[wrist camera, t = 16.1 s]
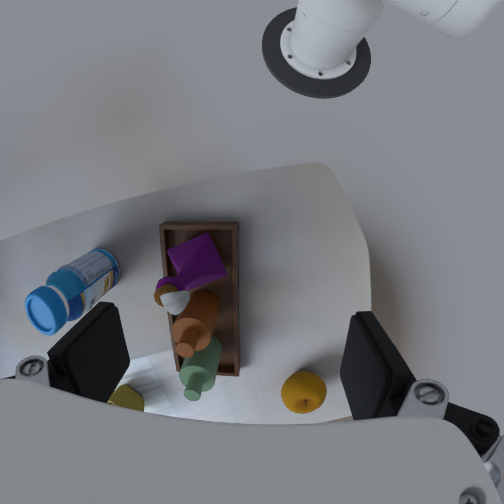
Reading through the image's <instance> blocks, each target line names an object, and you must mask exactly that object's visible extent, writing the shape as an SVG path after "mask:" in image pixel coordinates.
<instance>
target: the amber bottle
mask: <svg viewBox="0 0 504 504" xmlns="http://www.w3.org/2000/svg"><path fill="white" fill-rule="evenodd" d="M219 310H220V303H219V300H218V298H217V297H216V296H215V295H214V294H213V293H211V292H209V291H207V290H197V291H194V292H193V293H191V294H190V299H189V301H188V303H187V305H186V307H185V309H184V310H183V311H182V312H181V313H180V314H179V315H178V317H177V319H176V321H175V323H174V325H173V327H172V335H173V338H174V340H175V341H176V343H177V346H176V352H177V353H178V354H179V355H180V356H182V357H185V358H189V357H191V356H192V355H193V354H194V351H199V350H202V349H204V348H206V347H207V346H208V345H209V343H210V341H211V337H212V334H213V331H214V327H215V324H216V320H217V317H218V314H219Z"/></svg>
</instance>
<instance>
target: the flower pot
mask: <svg viewBox="0 0 504 504" xmlns="http://www.w3.org/2000/svg"><path fill="white" fill-rule="evenodd" d="M107 404H111V405H115V406H119V407H123V408H128V409H133V410H137V411H142V412H144V401H143V398H142V396H141V395H140V394H138V393H137V392H136V391H134V390H133V389H132V388H130V387H129V386H128V385H126V384H125V385H122V386H120V387H118V388H117V389H116V390H115V391H114V392H113V394H112V395H111V397H110V399H109V400H108V402H107Z"/></svg>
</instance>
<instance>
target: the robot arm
mask: <svg viewBox="0 0 504 504" xmlns="http://www.w3.org/2000/svg"><path fill="white" fill-rule="evenodd" d="M384 1H388V2H390V3H392V4H393V5H396V6H397V7H399V8H401V9H403V10H404V11H406V12H408V13H409V14H411V15H413V16H414V17H416V18H418V19H419V20H421V21H422V22H424V23H425V24H427V25H429V26H430V27H432V28H433V29H435V30H437V31H438V32H440V33H441V34H443V35H446V36H448V37H451V38H455V39H462V38H466V37H469V36H471V35H472V34H474V33H475V32H477V31H478V30H479V29H480V28H481V27H482V26H483V25H484V24H485V23H486V22H487V20H488V19H489V18H490V17H491V16H492V14H493V13H494V12H495V11H496V9H497V8H498V7H499V5H500V4H501V3H502V1H503V0H384ZM382 10H383V0H299V2H298V6H297V11H296V15H295V20H294V21H292V22H290V23H289V24H288V25H287V26H286V27H285V29H284V30H283V32H282V35H281V39H280V48H281V52H282V54H283V56H284V58H285V60H286V61H287V62H288V64H289V65H290V66H291V67H292V68H294V69H295V70H296V71H298V72H299V73H301V74H303V75H305V76H308V77H311V78H314V79H321V80H328V79H334V78H337V77H340V76H342V75H344V74H345V73H347V72H348V71H349V70H350V69H351V67H352V66H353V65H354V62H355V60H356V54H357V52H356V46H357V45H358V43H359V42H360V41H361V40H362V39H363V37H364V36H365V35H366V34H367V32H368V31H369V30H370V29H371V28H372V27H373V25H374V24H375V23H376V22H377V20H378V19H379V18H380V16H381V13H382ZM289 57H291V59H290V58H289ZM347 63H348V64H349V65H348V64H347ZM319 74H321V76H320V75H319ZM47 353H48V356H49V358H50V359H49V360H48V361H47V360H46V359H45V358H44V357H41V356H30V357H27V358H25V359H23V360H22V361H21V362H20V363H19V364H18V365H17V367H16V374H15V376H12V377H8V378H4V379H0V504H504V435H503V436H500V435H499V431H500V430H499V427H498V424H497V423H496V422H495V421H494V420H493V419H492V418H491V417H488V416H486V415H483V414H480V413H477V412H474V411H472V410H468V409H466V408H463V407H460V406H457V405H455V404H452V403H449V402H448V400H449V393H448V390H447V389H446V388H445V386H444V385H442V384H441V383H440V382H437V381H435V380H431V379H421V380H416V379H415V377H414V375H413V374H412V372H411V371H410V369H409V367H408V366H407V364H406V362H405V361H404V359H403V358H402V356H401V355H400V353H399V351H398V350H397V348H396V347H395V345H394V344H393V343H392V341H391V340H390V338H389V337H388V335H387V334H386V332H385V331H384V329H383V328H382V326H381V325H380V323H379V322H378V320H377V319H376V317H375V316H374V314H373V313H372V312H371V311H360V312H356V314H355V315H352V317H351V320H350V325H349V331H348V336H347V341H346V345H345V350H344V355H343V359H342V364H341V368H340V377H341V381H342V384H343V387H344V390H345V393H346V397H347V400H348V403H349V406H350V410H351V413H352V416H353V419H354V421H343V422H333V423H315V424H287V425H268V424H240V423H224V422H212V421H202V420H193V419H185V418H178V417H171V416H165V415H159V414H153V413H148V412H142V411H137V410H133V409H128V408H123V407H119V406H115V405H111V404H107V402H108V400H109V399H110V397H111V395H112V394H113V392H114V390H115V389H116V387H117V385H118V384H119V382H120V380H121V379H122V377H123V375H124V374H125V372H126V370H127V369H128V367H129V364H130V358H129V354H128V350H127V346H126V342H125V338H124V334H123V329H122V325H121V320H120V315H119V310H118V308H117V307H116V306H115V305H114V304H113V303H110V302H99V303H98V304H97V305H96V306H95V307H93V308H92V309H91V310H90V311H89V312H88V313H87V314H86V315H85V316H84V317H83V318H82V319H81V320H80V321H79V322H78V323H76V324H75V325H74V326H73V327H72V328H71V329H70V330H69V331H68V332H67V333H66V334H65V335H64V336H63V337H62V338H61V339H60V340H59V341H58V342H57V343H56V344H55V345H54V346H53V347H52V348H51V349H50V350H49V351H48V352H47Z"/></svg>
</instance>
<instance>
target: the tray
mask: <svg viewBox="0 0 504 504" xmlns="http://www.w3.org/2000/svg"><path fill="white" fill-rule="evenodd" d="M159 228H160V243H161V256H162V267H163V277H165V276H170V277H176V276H177V275H178V273H177V271H176V269H175V267H174V265H173V263H172V261H171V259H170V257H169V255H168V253H167V250H168V249H170V248H173V247H175V246H177V245H179V244H182V243H184V242H186V241H189V240H191V239H193V238H195V237H198V236H200V235H202V234H205V233H209V235H210V237H211V239H212V241H213V244H214V246H215V248H216V250H217V252H218V254H219V257H220V259H221V261H222V263H223V265H224V267H225V269H226V272H227V274H228V275H227V276H226V277H223V278H220V279H218V280H215V281H212V282H210V283H207V284H204V285H202V286H199V287H196V288H194V289H191V290H186V288H185V290H186V291H188V292H189V294H191V293H193V292H194V291H197V290H207V291H209V292H211V293H213V294H214V295H215V296H216V297H217V298H218V300H219V303H220V310H219V314H218V317H217V320H216V324H215V327H214V331H213V334H212V335H214V336H215V337H217V338H218V339H219V340H220V342H221V344H222V351H221V356H220V360H219V365H218V369H217V374H216V375H222V376H239V372H240V347H239V222H163V223H162V224H160V225H159ZM167 312H168V311H167ZM178 315H179V314H177V315H173V314H171V313H169V312H168V319H169V326H170V333H171V340H172V346H173V352H174V358H175V364H176V370H177V372H180V370H181V368H182V365H183V362H184V360H185V357H182V356H180V355H179V354H178V353H177V352H176V346H177V343H176V341H175V340H174V338H173V335H172V327H173V325H174V323H175V321H176V319H177V317H178Z"/></svg>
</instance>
